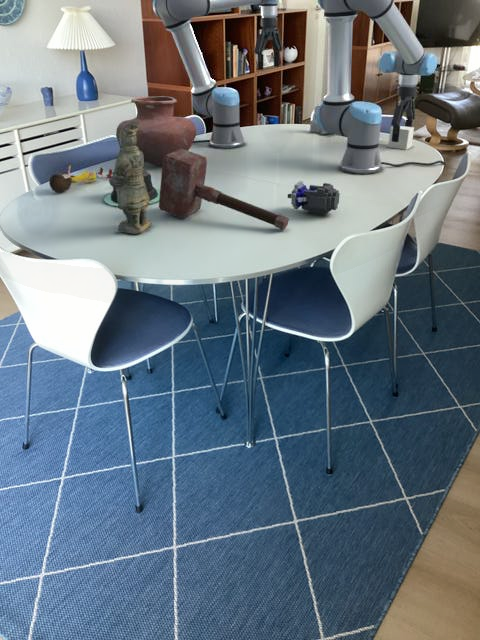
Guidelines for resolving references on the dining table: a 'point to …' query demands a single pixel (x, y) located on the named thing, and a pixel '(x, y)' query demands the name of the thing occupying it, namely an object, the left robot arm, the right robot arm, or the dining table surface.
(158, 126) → the clay pot
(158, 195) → the chocolate cake
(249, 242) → the dining table surface
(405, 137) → the brick
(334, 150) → the dining table surface
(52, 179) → the figurine
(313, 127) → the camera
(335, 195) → the toy
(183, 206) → the sledgehammer
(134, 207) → the statue
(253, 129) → the dining table surface
